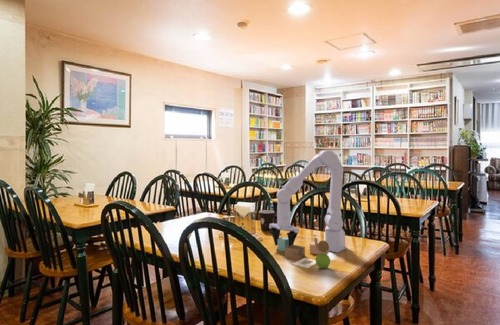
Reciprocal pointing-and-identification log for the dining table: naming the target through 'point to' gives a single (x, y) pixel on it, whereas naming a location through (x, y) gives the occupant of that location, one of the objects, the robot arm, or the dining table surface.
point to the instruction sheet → (305, 263)
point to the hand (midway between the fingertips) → (283, 246)
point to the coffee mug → (266, 219)
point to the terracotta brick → (313, 248)
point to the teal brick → (282, 243)
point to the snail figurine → (322, 253)
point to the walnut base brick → (294, 252)
